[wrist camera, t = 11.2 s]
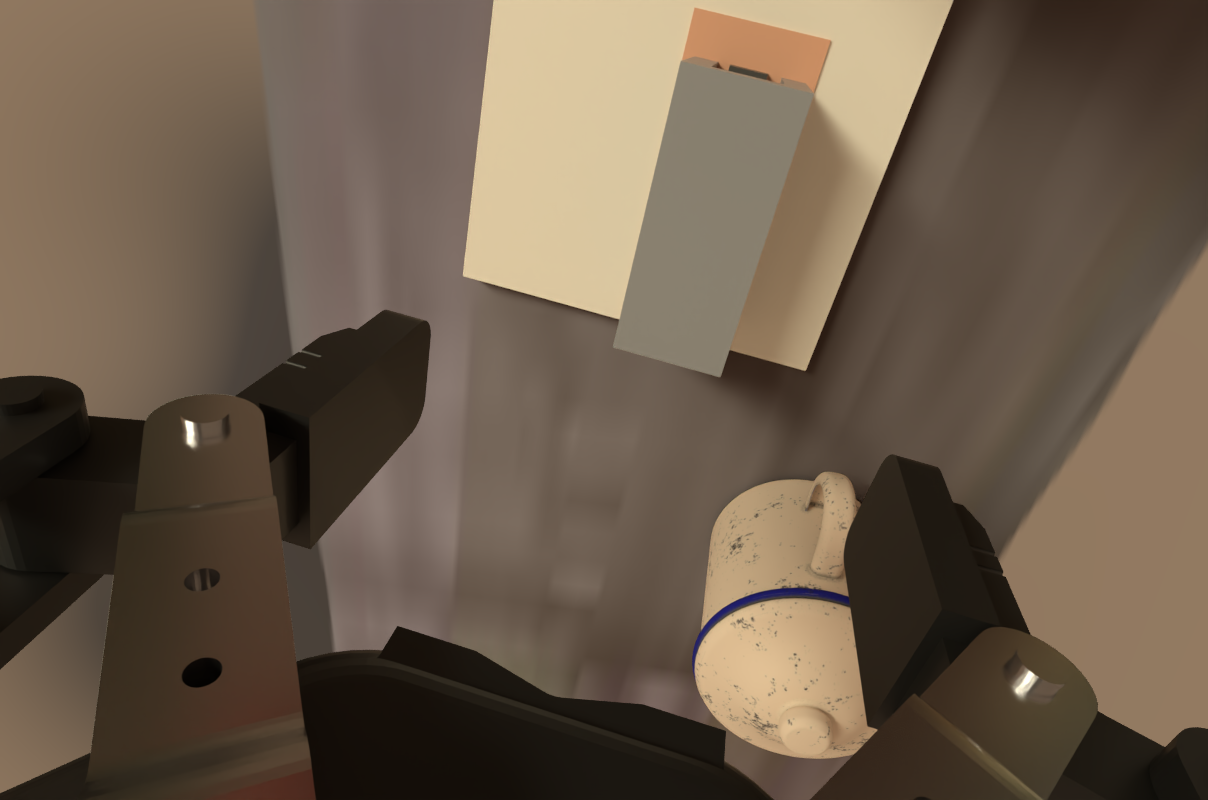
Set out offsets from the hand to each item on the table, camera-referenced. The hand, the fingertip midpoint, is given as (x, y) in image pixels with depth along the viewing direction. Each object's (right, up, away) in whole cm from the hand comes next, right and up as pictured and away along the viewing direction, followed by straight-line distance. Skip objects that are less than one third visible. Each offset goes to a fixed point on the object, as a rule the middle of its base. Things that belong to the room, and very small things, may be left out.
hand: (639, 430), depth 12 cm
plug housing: (+4, +8, +16) cm, 19 cm away
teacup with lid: (+10, -6, +24) cm, 26 cm away
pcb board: (+3, +13, +15) cm, 20 cm away
